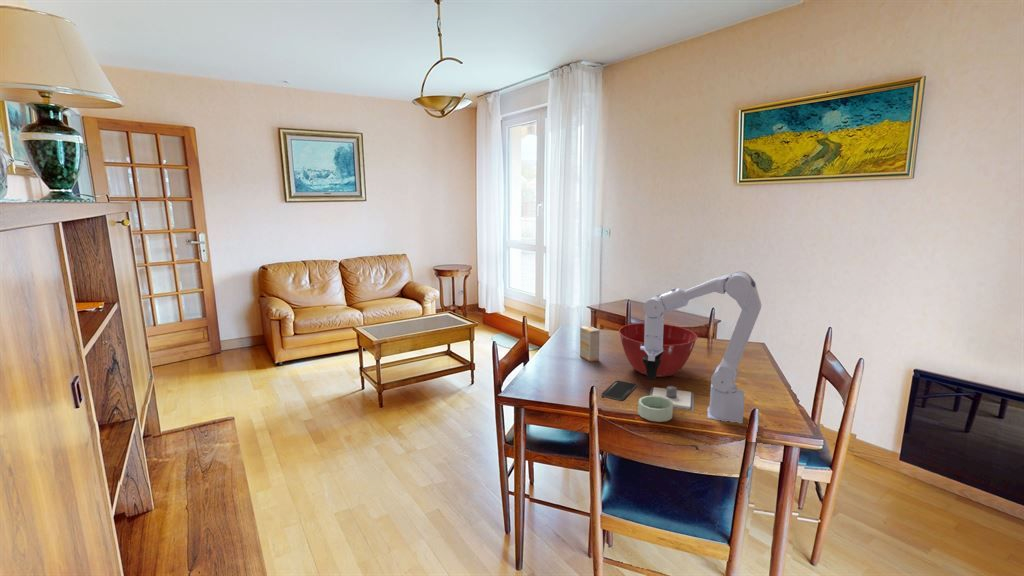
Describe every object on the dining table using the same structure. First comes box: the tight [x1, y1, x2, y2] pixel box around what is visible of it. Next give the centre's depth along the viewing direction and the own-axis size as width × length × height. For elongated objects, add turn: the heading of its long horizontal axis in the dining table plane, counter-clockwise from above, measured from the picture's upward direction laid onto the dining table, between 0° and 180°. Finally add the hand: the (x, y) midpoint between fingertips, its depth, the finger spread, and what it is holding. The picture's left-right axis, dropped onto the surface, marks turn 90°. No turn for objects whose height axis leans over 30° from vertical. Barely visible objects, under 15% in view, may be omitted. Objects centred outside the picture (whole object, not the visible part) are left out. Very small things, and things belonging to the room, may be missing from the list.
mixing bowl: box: [618, 322, 698, 378], centre depth 178 cm, size 28×28×15 cm
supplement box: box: [579, 325, 601, 363], centre depth 194 cm, size 8×5×13 cm, turn 22°
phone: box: [601, 380, 638, 402], centre depth 161 cm, size 8×1×15 cm
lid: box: [652, 385, 692, 409], centre depth 154 cm, size 12×12×4 cm
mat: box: [648, 387, 695, 412], centre depth 154 cm, size 14×14×1 cm
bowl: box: [637, 395, 674, 423], centre depth 143 cm, size 10×10×4 cm
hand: (652, 375), depth 152 cm, fingers open, 7 cm apart
